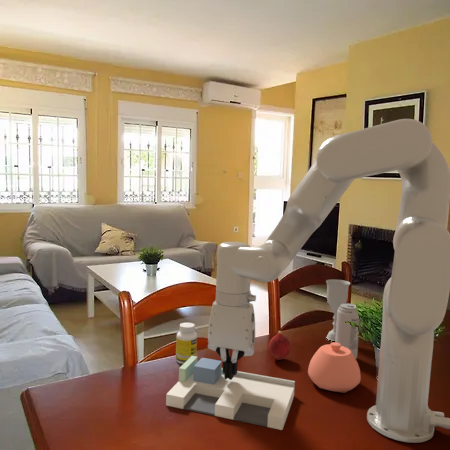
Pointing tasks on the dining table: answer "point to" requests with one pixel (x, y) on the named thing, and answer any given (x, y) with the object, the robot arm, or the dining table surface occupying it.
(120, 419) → the dining table surface
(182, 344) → the supplement bottle
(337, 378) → the sugar bowl
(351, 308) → the energy drink can
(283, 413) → the box
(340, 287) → the chalice
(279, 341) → the onion
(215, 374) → the block
